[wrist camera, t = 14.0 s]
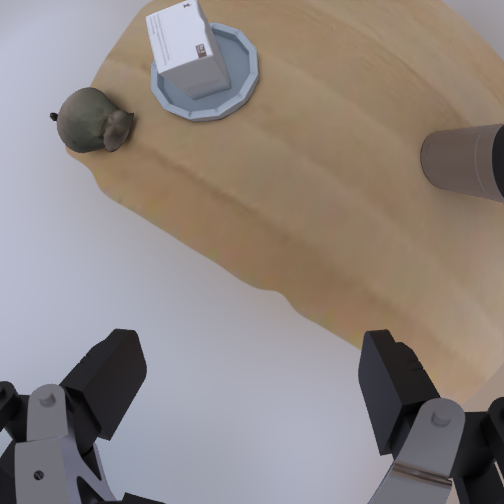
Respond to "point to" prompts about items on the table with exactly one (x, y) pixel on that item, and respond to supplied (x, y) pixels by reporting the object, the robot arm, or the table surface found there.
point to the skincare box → (187, 50)
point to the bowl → (222, 103)
